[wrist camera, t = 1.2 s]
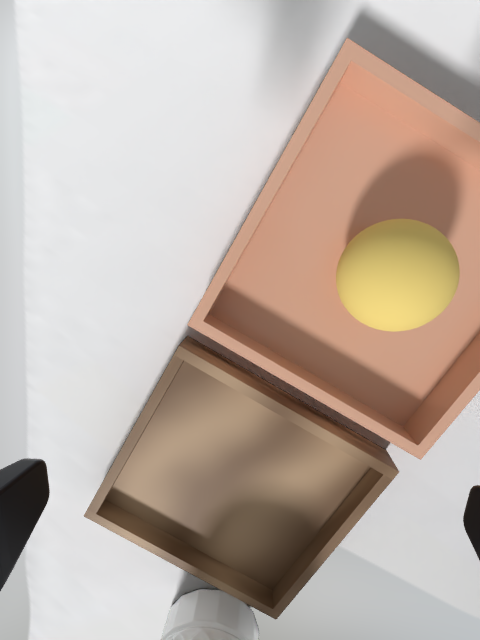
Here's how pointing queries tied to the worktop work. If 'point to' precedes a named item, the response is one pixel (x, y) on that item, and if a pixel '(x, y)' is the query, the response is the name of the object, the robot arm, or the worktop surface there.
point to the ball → (397, 275)
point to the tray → (238, 480)
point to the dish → (332, 238)
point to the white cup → (210, 618)
